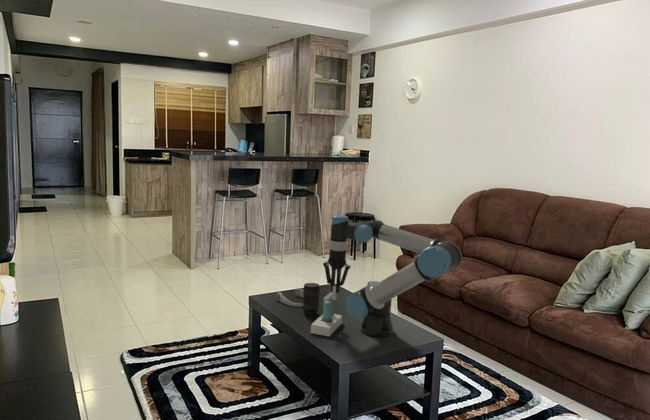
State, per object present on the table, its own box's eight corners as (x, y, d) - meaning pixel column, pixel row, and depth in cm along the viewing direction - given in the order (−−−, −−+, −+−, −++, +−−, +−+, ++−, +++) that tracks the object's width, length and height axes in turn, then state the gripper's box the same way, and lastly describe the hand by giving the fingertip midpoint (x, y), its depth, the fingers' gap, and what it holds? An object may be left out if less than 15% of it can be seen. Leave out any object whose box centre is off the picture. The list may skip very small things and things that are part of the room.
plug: (333, 323, 235) (335, 301, 233) (330, 327, 230) (331, 304, 228) (323, 322, 236) (324, 299, 235) (319, 325, 232) (321, 302, 230)
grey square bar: (336, 293, 239) (336, 290, 238) (327, 301, 226) (327, 298, 226) (331, 293, 239) (331, 290, 239) (322, 300, 227) (322, 297, 227)
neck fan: (320, 303, 269) (320, 294, 268) (296, 309, 257) (296, 300, 256) (298, 295, 281) (298, 286, 281) (274, 300, 270) (275, 291, 269)
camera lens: (319, 311, 256) (320, 283, 254) (317, 316, 248) (319, 287, 246) (303, 309, 256) (305, 281, 254) (301, 315, 248) (302, 286, 246)
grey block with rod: (341, 323, 240) (343, 295, 238) (329, 336, 224) (331, 306, 222) (324, 320, 243) (325, 292, 241) (310, 332, 226) (312, 302, 224)
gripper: (354, 249, 228) (350, 299, 232) (327, 245, 233) (323, 294, 236) (349, 252, 221) (345, 303, 225) (321, 248, 226) (318, 299, 229)
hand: (334, 299), depth 231 cm, fingers closed
